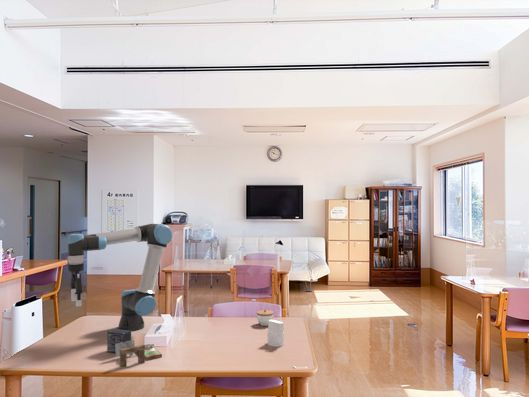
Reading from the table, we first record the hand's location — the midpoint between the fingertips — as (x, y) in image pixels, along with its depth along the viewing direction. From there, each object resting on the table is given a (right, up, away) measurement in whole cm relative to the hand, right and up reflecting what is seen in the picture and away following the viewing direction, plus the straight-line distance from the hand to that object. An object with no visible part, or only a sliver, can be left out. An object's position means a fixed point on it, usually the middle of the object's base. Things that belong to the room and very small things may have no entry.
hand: (76, 303), depth 221 cm
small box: (+25, -23, -6) cm, 35 cm away
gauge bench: (+36, -23, -14) cm, 45 cm away
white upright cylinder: (+105, -23, +6) cm, 108 cm away
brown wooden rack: (+37, -21, -15) cm, 45 cm away
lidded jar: (+100, -24, +42) cm, 111 cm away
